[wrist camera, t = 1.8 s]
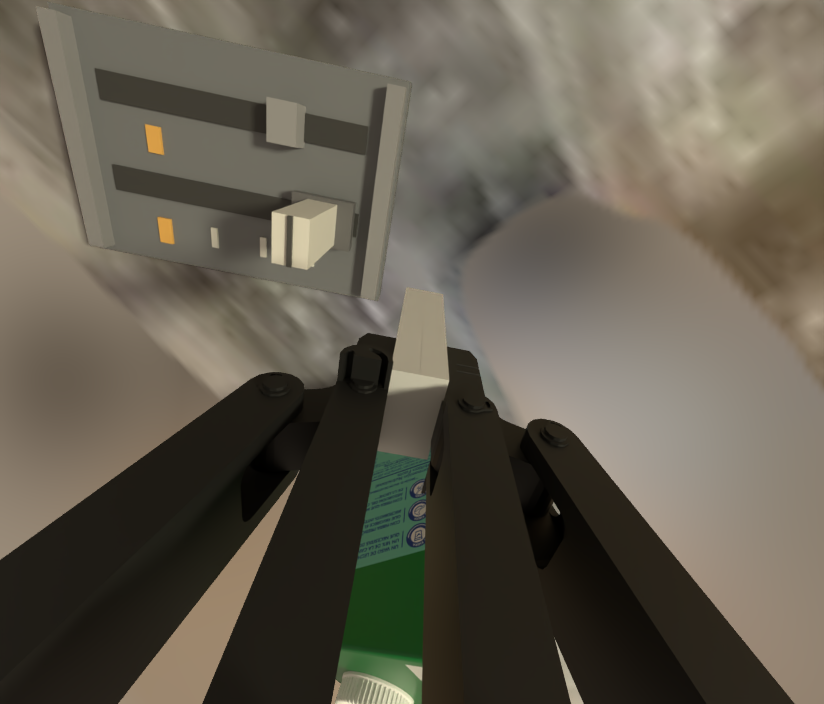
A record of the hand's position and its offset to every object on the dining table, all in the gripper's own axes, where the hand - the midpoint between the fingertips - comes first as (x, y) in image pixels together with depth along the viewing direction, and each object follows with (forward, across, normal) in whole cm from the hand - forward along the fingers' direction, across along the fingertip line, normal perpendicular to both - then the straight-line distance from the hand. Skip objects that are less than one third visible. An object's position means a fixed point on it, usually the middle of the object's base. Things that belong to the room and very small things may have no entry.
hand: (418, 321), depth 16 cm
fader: (+16, -8, 0) cm, 18 cm away
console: (+18, -15, +2) cm, 24 cm away
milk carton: (+18, +3, -18) cm, 26 cm away
